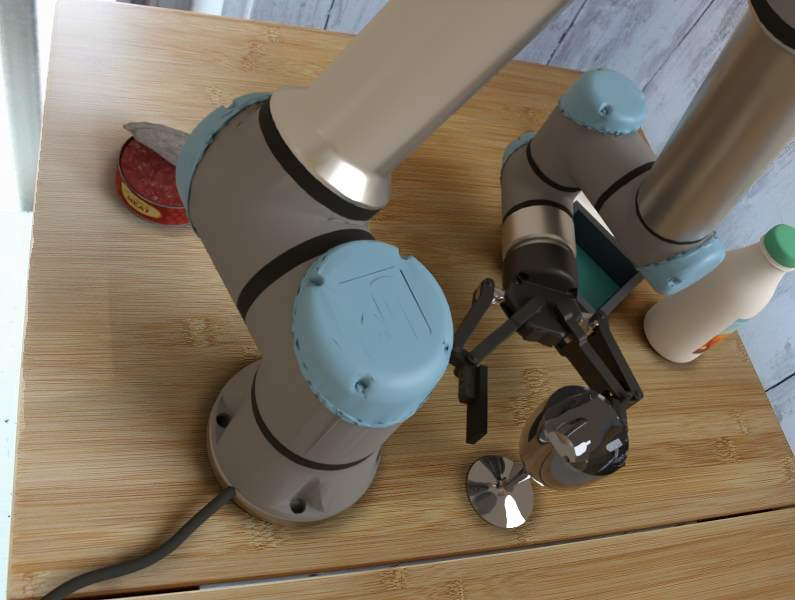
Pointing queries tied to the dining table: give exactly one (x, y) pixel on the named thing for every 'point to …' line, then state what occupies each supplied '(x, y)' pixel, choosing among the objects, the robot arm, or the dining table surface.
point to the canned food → (151, 173)
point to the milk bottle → (721, 298)
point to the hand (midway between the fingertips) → (546, 454)
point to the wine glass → (551, 455)
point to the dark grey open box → (600, 265)
